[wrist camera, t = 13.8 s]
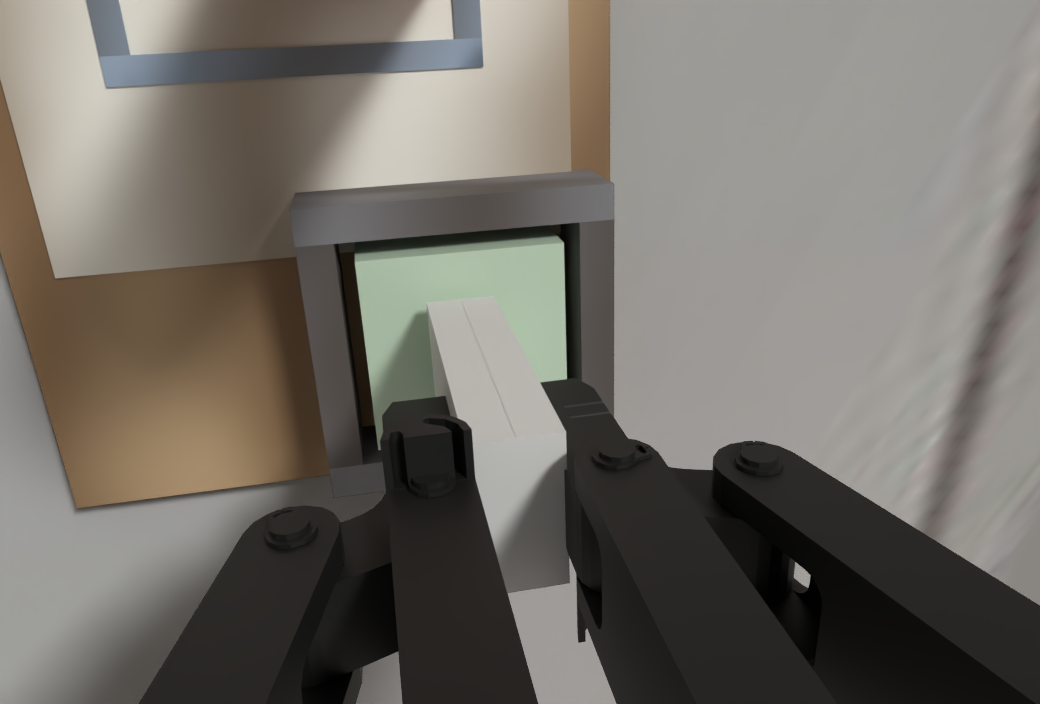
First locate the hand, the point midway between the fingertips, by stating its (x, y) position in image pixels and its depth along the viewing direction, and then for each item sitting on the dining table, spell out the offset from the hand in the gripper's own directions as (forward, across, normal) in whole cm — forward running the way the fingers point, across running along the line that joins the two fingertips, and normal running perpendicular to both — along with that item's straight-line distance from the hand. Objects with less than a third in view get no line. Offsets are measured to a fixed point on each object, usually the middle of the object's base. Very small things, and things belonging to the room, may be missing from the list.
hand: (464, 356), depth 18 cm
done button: (+2, 0, 0) cm, 2 cm away
